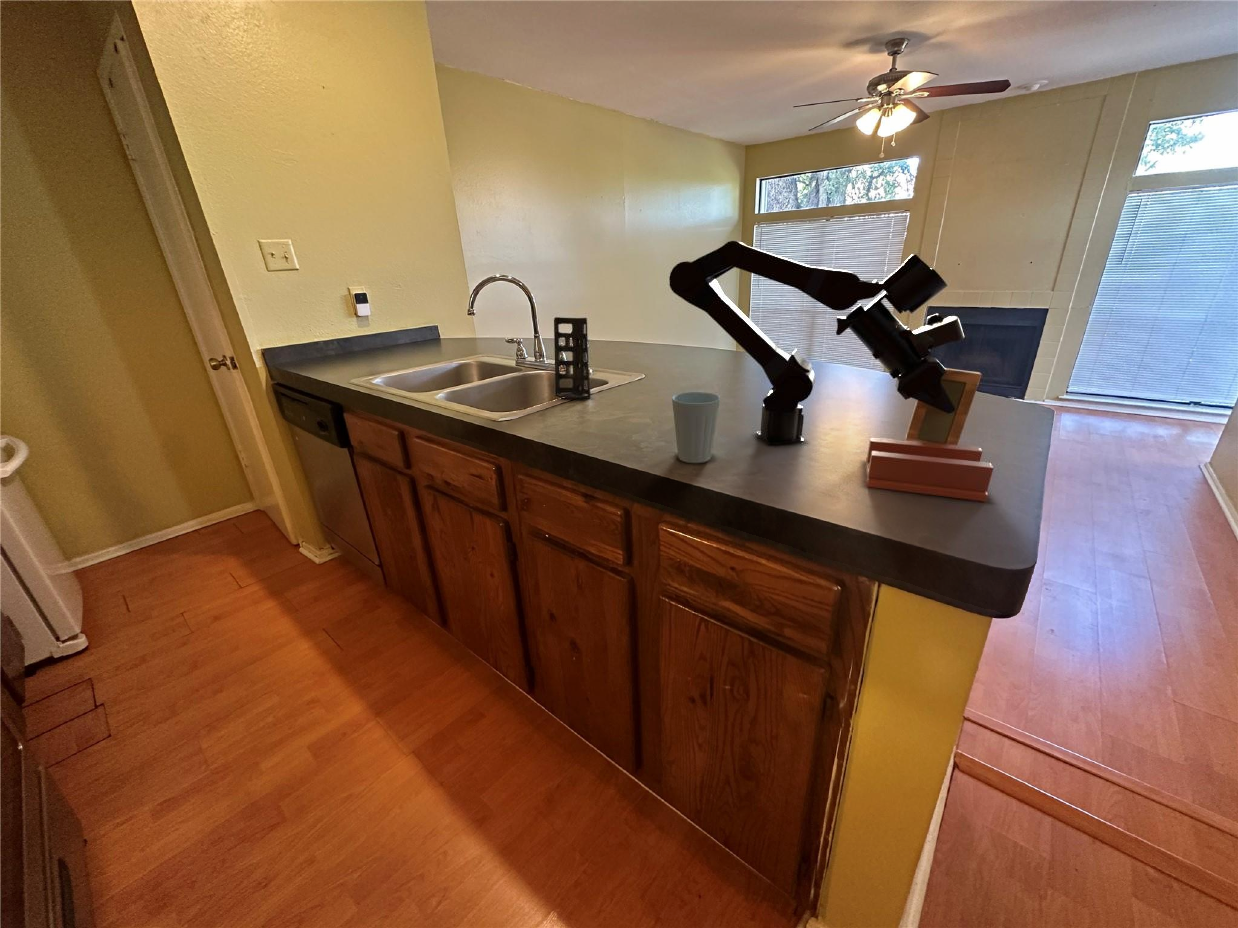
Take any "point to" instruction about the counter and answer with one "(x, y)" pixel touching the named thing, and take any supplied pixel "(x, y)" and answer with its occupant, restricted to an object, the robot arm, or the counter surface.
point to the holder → (577, 362)
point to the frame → (939, 424)
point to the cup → (695, 425)
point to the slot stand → (928, 468)
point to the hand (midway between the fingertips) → (950, 408)
